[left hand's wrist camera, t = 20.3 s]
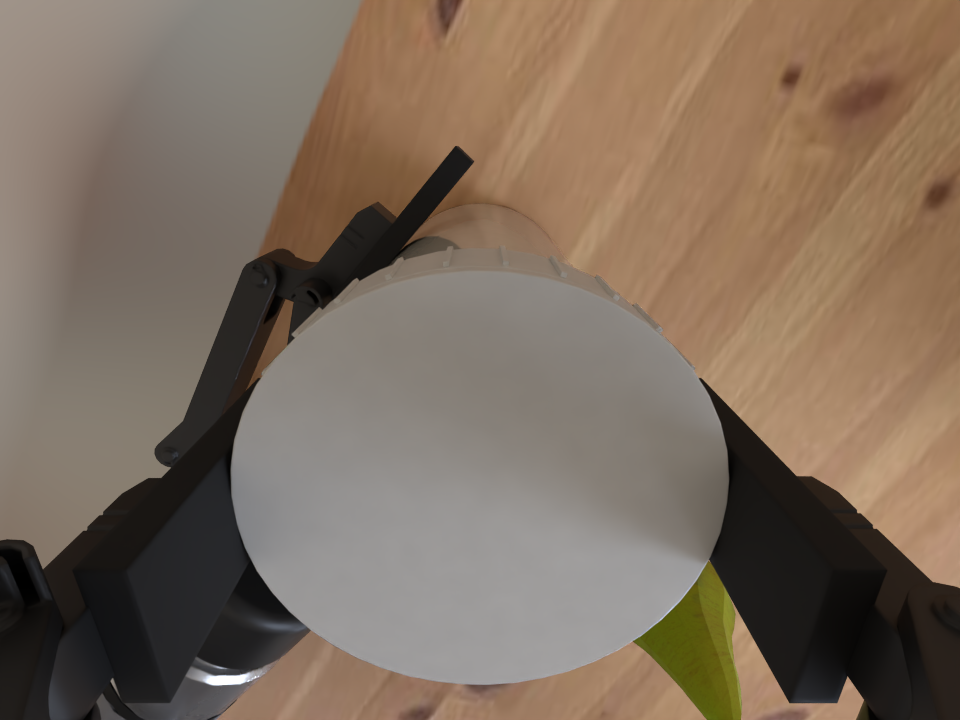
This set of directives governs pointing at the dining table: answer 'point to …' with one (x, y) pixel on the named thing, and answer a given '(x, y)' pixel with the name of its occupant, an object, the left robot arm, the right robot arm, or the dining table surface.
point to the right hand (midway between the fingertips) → (563, 247)
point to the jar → (480, 233)
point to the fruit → (700, 647)
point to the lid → (479, 469)
